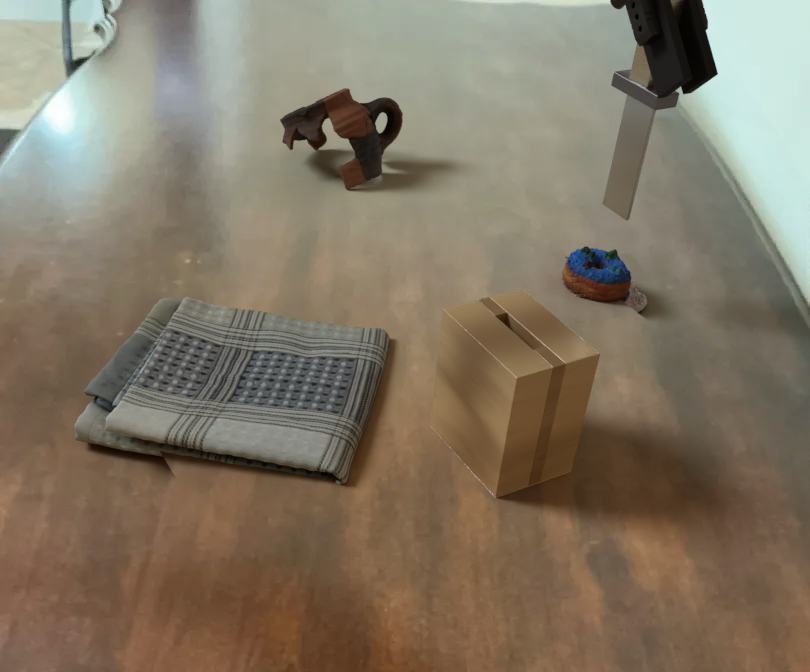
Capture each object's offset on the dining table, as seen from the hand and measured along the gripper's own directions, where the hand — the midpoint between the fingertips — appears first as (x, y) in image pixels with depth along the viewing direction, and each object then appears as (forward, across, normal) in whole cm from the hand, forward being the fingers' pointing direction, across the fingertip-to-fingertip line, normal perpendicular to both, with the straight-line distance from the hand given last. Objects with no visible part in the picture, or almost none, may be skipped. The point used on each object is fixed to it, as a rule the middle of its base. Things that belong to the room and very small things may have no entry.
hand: (687, 85), depth 66 cm
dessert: (+10, 0, -16) cm, 19 cm away
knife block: (+20, +20, -6) cm, 29 cm away
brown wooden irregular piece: (-11, +8, -37) cm, 39 cm away
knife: (+5, 0, -11) cm, 12 cm away
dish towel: (+11, +32, -15) cm, 37 cm away
